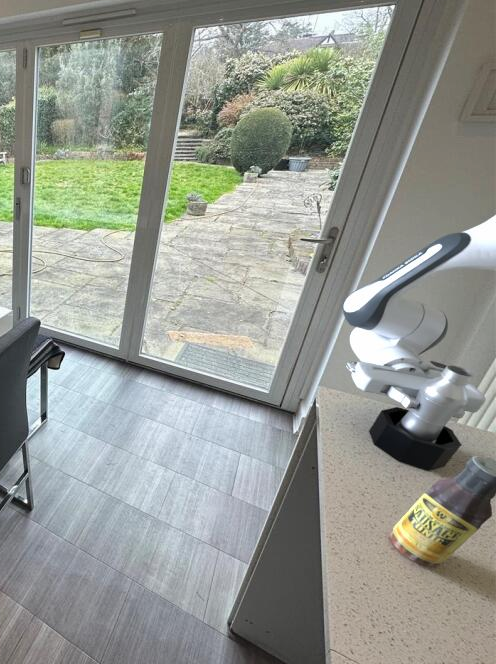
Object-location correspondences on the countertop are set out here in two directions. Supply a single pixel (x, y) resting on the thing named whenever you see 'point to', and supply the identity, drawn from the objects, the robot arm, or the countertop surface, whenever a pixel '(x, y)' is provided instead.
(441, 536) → the sauce bottle
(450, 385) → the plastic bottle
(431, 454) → the bowl
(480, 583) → the countertop surface
